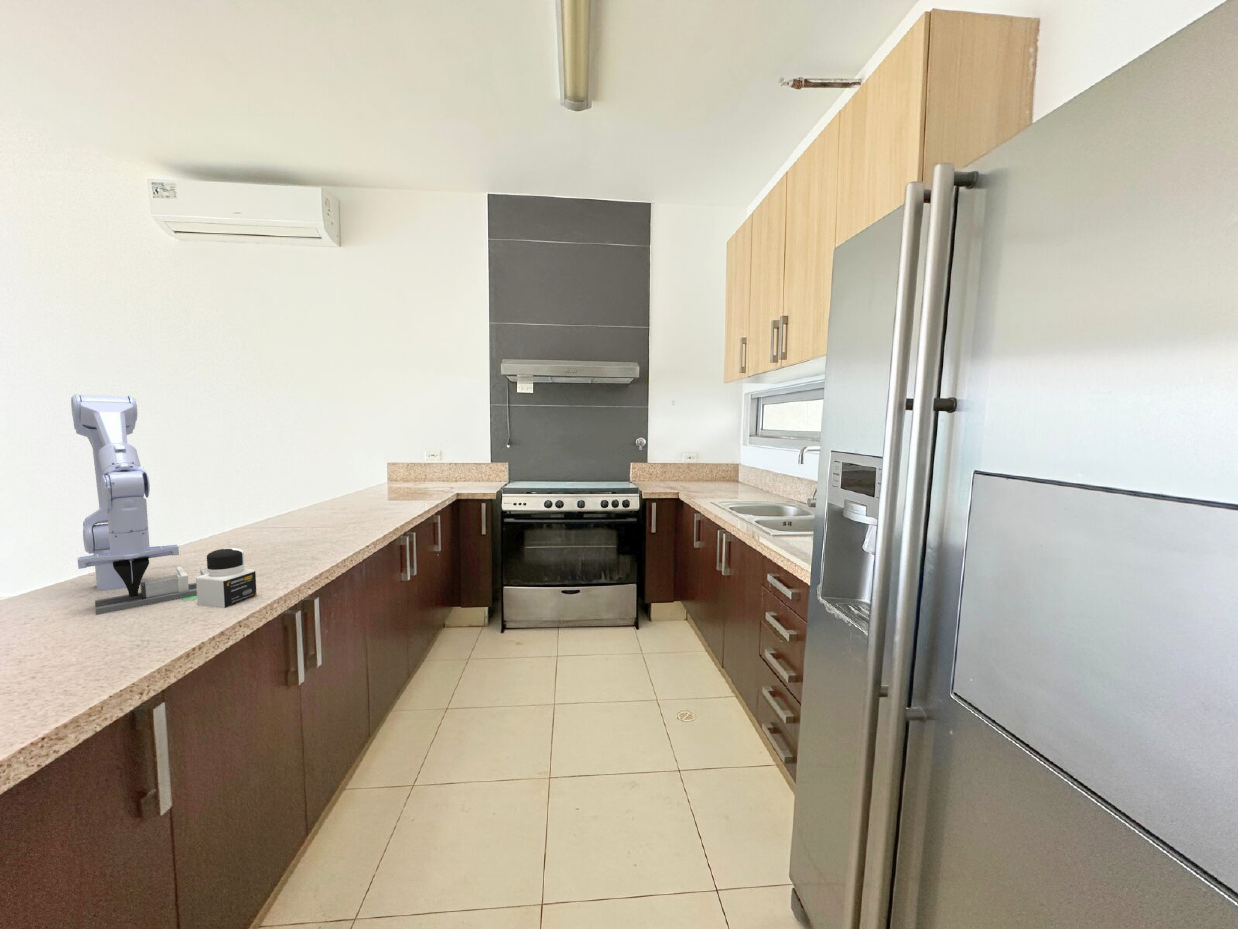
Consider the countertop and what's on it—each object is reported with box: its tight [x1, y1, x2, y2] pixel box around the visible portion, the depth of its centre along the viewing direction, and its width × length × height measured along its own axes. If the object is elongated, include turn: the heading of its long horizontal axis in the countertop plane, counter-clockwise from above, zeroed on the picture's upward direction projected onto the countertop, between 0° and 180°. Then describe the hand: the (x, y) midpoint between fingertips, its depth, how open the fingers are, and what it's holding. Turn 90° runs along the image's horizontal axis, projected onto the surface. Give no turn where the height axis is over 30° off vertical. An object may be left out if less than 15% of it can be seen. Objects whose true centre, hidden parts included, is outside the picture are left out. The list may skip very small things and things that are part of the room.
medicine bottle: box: [195, 547, 258, 609], centre depth 103 cm, size 7×7×12 cm
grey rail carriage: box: [139, 574, 179, 600], centre depth 104 cm, size 4×6×4 cm
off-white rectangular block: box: [175, 566, 190, 592], centre depth 107 cm, size 9×2×5 cm, turn 47°
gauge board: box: [94, 568, 208, 616], centre depth 104 cm, size 12×18×5 cm, turn 137°
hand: (133, 595), depth 101 cm, fingers closed
